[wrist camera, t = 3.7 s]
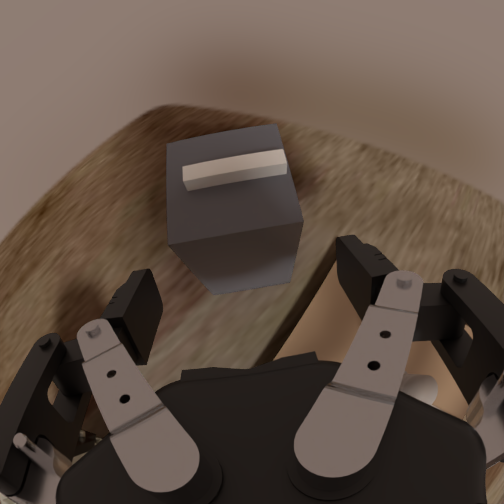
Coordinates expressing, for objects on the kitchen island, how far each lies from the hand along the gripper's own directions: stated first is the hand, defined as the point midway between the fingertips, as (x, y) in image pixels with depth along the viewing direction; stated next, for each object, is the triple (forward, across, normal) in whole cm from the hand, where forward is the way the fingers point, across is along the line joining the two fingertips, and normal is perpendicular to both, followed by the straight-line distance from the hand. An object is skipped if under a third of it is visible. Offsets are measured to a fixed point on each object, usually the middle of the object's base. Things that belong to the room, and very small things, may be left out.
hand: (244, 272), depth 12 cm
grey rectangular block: (+9, 0, +3) cm, 10 cm away
